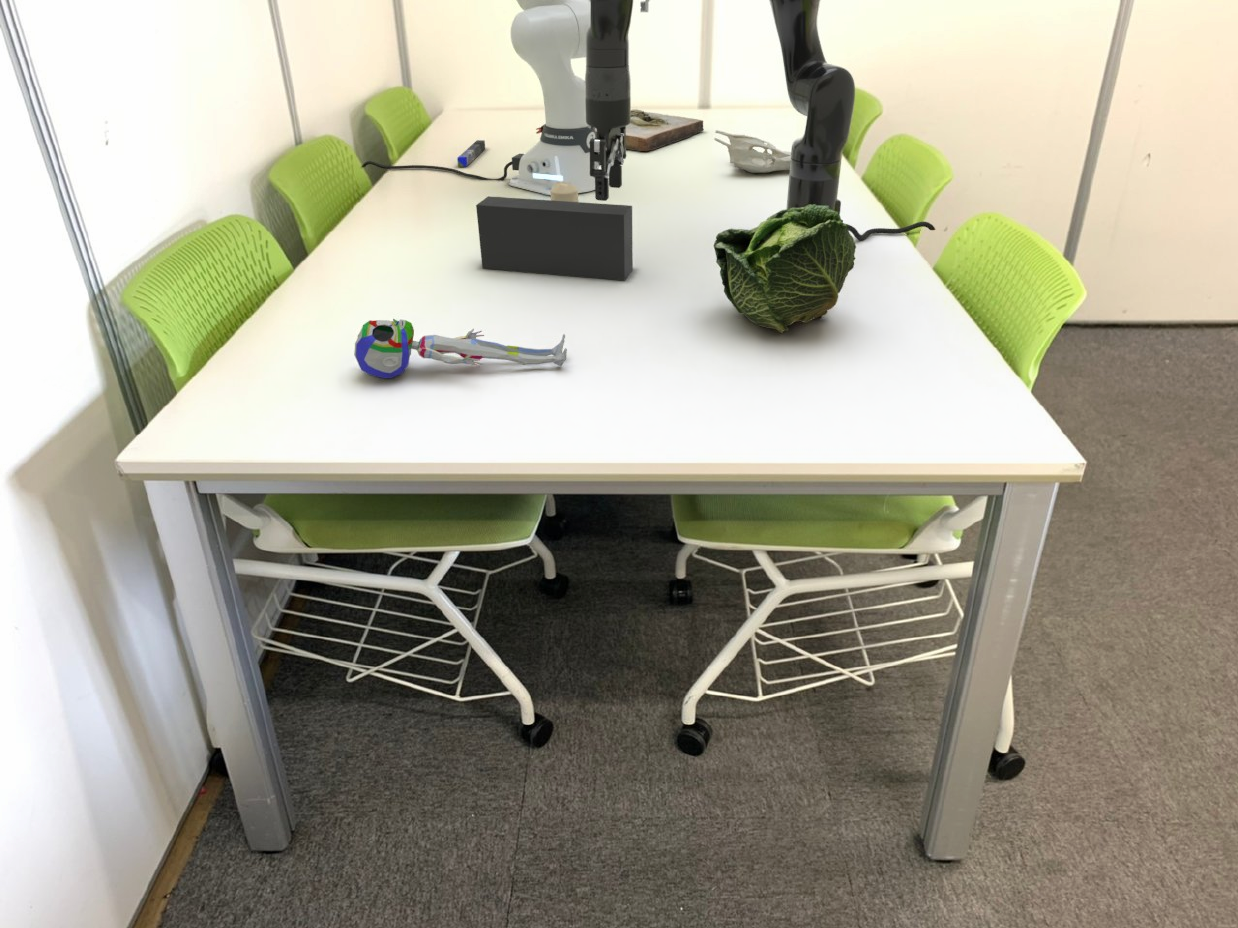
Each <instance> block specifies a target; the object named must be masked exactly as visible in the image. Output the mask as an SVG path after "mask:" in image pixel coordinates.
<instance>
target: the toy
mask: <svg viewBox="0 0 1238 928" xmlns="http://www.w3.org/2000/svg"><path fill="white" fill-rule="evenodd" d="M474 331H475V328H472V329H471V330H469V331H468V332H467V333H466V334H465V335H463V336H458V337H449V336H448V337H447V336H442V335H439V334H428V335H423V336H421V338H420V339H419V341H417V340H414V336H415V329H414V326H413V324H412V322H410V321H408V320H407V319H399V320H397V319H395V318H392V320H387V319H379V320H368V321H367V322H365V323H364V324H362V326H361V329H360V331H359V333H358V334H357V338H356V340H355V342H354V354H353V355H354V357H355V359H356V362H357V364H358V366H359V369H360V370H361V372H364V373H366V374H367V375H370V376H373V377H377V378H382V379H383V378H384V379H392V378H394V377H396V376H398V375H400V374H401V375H402V374H403V372H404V371H405V370H406V368H407V367H408V366H409V364H410V357H411V355H412V350H415V351H417V353H418V356H419V357H421V358H422V359H430V360H434V361H438V362H442V363H444V364H449V365H458V364H459V365H461V364H465V365H471V366H477V367H479V368H480V367H481V366H482V365H483V363H482V362H478V361H480V360H482V359H487V360H488V359H489V360H503V361H509V362H514V363H517V364H520V365H528V366H529V365H542V364H550V363H553V364H555V365H557V366H559V367H562V366H563V364H564V362H565V361H566V360H567V357H568V355H567V353H568V348H566V347H565V348H564V345H565V340H566V334H565V333H563V334H562V338H561V340H560V341H559V343H558V344H556V345H555V346H554V347H552V348H533V347H532V348H531V347H523V346H518V345H517V346H516V345H504V344H501V343H498V342H494V341H488V340H482V339H478V338H479V337H480V338H481V337H485V334H480V333H482V332H483V331H482V330H479V331H476V332H474ZM563 349H564V350H563ZM453 353H455V354H457V355H459V357H458V356H455V355H448V354H453ZM445 354H447V355H445Z"/></svg>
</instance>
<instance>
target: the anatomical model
mask: <svg viewBox="0 0 1238 928" xmlns="http://www.w3.org/2000/svg"><path fill="white" fill-rule="evenodd" d="M714 133H715V134H719V135H722V136H725V137H727V138H728V139H729V143H727V142H725V141H723V140H721V139H719V138H716V137H714V141H716V142H717V143H720V144H722V145H723V146H726V147H727V151H728V154H729V164H730V165H731V164H733V165H734V167H735V168H736V169H738V170H741V169H742V170H744V171H747V172H748V173H753V174H763V173H765V174H767V173H771V172H777V171H790V160H791V151H783V150H780V149H778V148H777V147H776V146H775V145H774V144H772V143H770V142H768V141H765V140H763V139H761V138H758V137H754V136H751V135H750V136H749V135H746V134H734V133H729V132H726V131H722V130H715V132H714ZM754 148H762V149H764V151H763V152H761V151H758V150H756V149H754ZM768 150H770V151H771V153H769V152H768Z"/></svg>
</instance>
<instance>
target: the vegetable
mask: <svg viewBox="0 0 1238 928" xmlns="http://www.w3.org/2000/svg"><path fill="white" fill-rule="evenodd" d="M841 220H842V218H841V214H840V215H839V213H838V212H836V211H833V210H831V209H829V206H816V205H815V204H814V205H811V204H809V205H807V206H806V207H801V208H790V209H786V208H785V209H781V210H779V211H777V212H776V213H774V214H772V215H770V216H769V217H767V219H765V220H764V221H762V222H760V223H759V224H758V226H755V227H754V228H750V229H744V228H732V227H731V228H728V229H725V230H723V231H721V232H719V233H718V234H716V236H715V240H714V244H713V248H714V252H715V256H716V261H715V262H716V264H717V265H718V267H719V268H720V270H719V275H720V279H721V281H722V282H721V284H722V285H723V292H724V294H725V296H726V298H727V299H728V301H729V302H730V303H731V304H732V306H733V307H734V309H735V310H736V311H737V312H738V313H739V315H741V314H743V315H744V316H745V317H746V318H747V319H748V320H749V321H751V322H752V323H753V324H756V325H758V326H760V327H763V328H767V329H773V330H776V331H778V332H779V333H781V334H783V333H784V331H790V329H789V328H788V327H789V326H791V325H792V324H793V323H794V322H802V323H806V324H808V323H809V322H810V321H812V320H820V319H822V318H823V316H826V315H827V314H828V311H829V310H831V309H833V308H834V307H835V306H836V304H837V302H838V300H839V293H840V292H841V291H842V289H843V287H844V283H845V281H846V278H847V277H848V274H849V272H850V271H851V270H853V269H854V266H855V262H854V261H855V260H856V259H857V258H856V257H855V254H856V249H857V245H856V243H855V240H854V239H855V237H854V236H853V235H852V234H851V232H850V231H849V228H848V227H847V225H846V224H847V223H845V224H843V223H844V222H843V223H842V222H841Z"/></svg>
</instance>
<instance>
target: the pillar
mask: <svg viewBox="0 0 1238 928" xmlns="http://www.w3.org/2000/svg"><path fill="white" fill-rule="evenodd" d="M485 150H486V141H485V140H481V139H479V140H478V139H477V140H476V141H474V142H473V143H472V144H471V145H470V146H468V147H467V149H465V150H464V151H463V152H462V153H461V154H460V155H459V156H458V157H457V158H456V159H457V167H459V168H462V167H463V168H464V167H468V166H469V165H470V164H471V163H472V162H473V161H474V160H475V159H476V158H477V157H479V156H480V155H481V153H482V152H484V151H485Z"/></svg>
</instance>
